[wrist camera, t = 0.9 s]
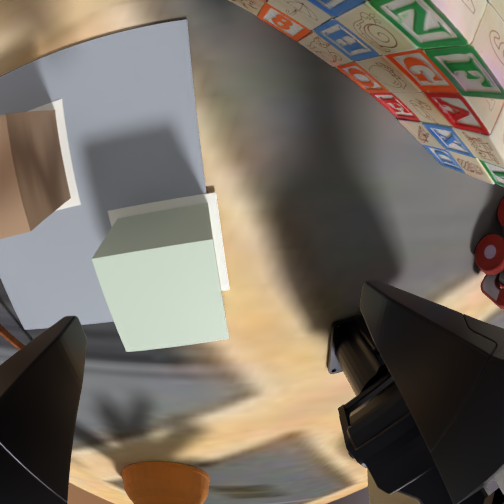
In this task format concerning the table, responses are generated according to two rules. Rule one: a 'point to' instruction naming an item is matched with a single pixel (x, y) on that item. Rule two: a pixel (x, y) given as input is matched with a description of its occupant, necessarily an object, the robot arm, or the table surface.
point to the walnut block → (30, 171)
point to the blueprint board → (105, 161)
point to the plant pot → (386, 495)
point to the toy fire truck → (492, 263)
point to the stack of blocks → (415, 66)
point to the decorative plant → (165, 483)
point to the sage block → (162, 279)
